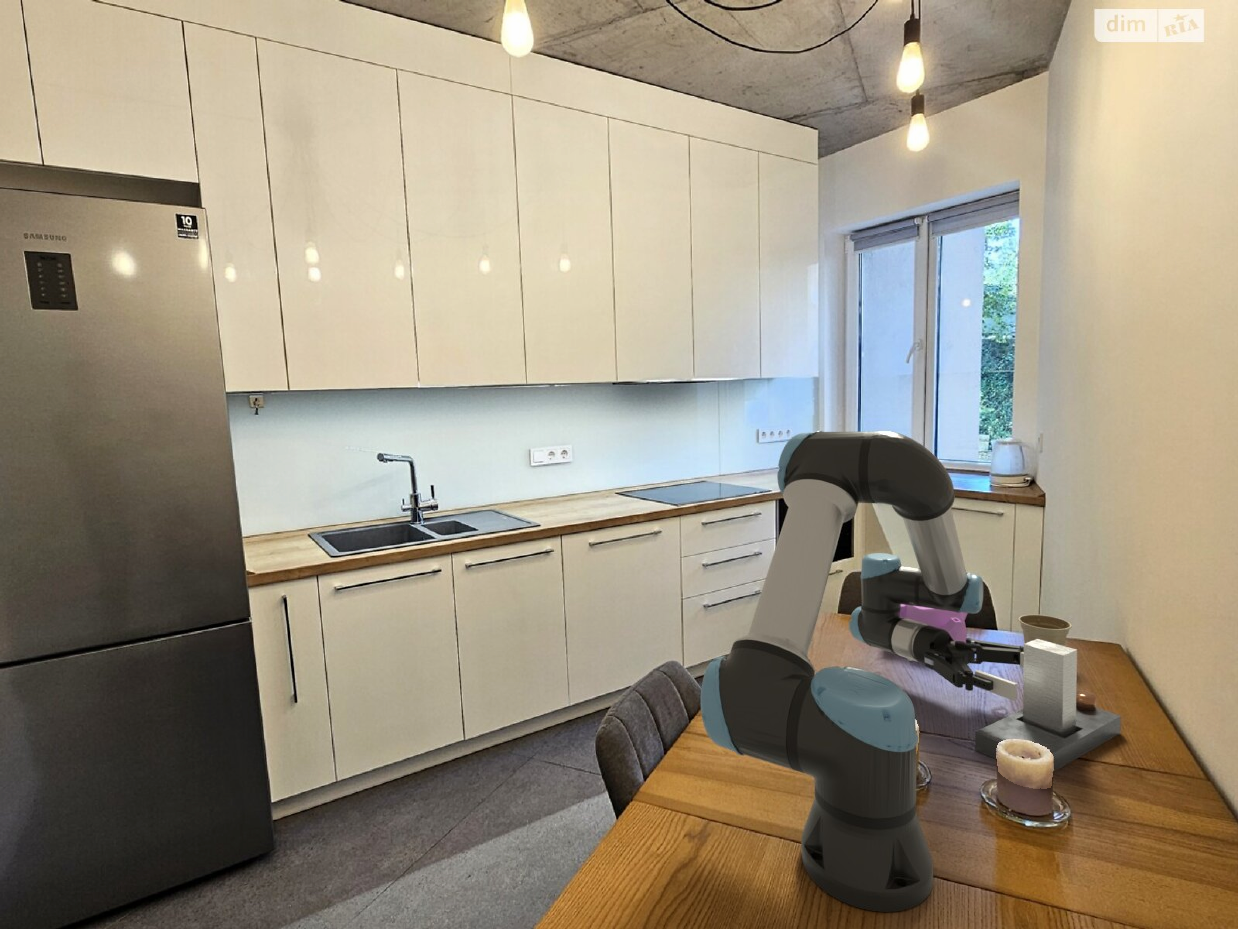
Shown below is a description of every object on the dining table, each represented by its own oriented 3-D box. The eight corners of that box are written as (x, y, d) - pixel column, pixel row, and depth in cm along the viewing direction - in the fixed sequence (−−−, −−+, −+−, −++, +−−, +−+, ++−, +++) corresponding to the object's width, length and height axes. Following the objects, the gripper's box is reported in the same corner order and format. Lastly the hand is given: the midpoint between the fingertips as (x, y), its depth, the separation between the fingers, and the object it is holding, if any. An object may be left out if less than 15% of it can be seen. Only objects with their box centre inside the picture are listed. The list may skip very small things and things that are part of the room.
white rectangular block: (1062, 753, 102) (1063, 655, 100) (1022, 737, 107) (1023, 644, 106) (1075, 746, 104) (1077, 649, 102) (1036, 730, 109) (1037, 638, 108)
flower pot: (1074, 659, 137) (1075, 619, 136) (1066, 674, 130) (1067, 632, 129) (1023, 649, 143) (1023, 611, 142) (1013, 663, 136) (1013, 623, 135)
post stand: (1040, 779, 95) (1040, 747, 95) (974, 749, 104) (974, 720, 103) (1122, 732, 107) (1123, 703, 107) (1057, 709, 116) (1057, 682, 115)
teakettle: (898, 626, 161) (897, 578, 160) (974, 639, 150) (974, 587, 149) (878, 649, 147) (877, 596, 146) (960, 664, 137) (960, 608, 136)
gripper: (962, 648, 131) (1077, 684, 113) (880, 678, 119) (995, 724, 101) (962, 612, 131) (1078, 643, 112) (879, 638, 118) (995, 678, 100)
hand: (1039, 681), depth 106 cm, fingers open, 13 cm apart
